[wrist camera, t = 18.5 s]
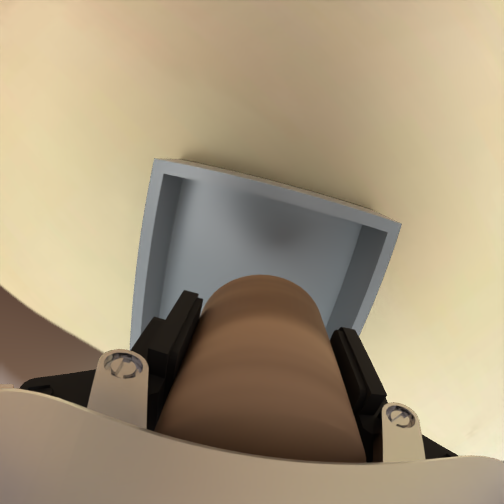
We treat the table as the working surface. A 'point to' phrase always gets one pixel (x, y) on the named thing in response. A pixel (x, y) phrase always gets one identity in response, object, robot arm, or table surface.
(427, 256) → the table surface
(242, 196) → the tote
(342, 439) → the walnut cylinder
